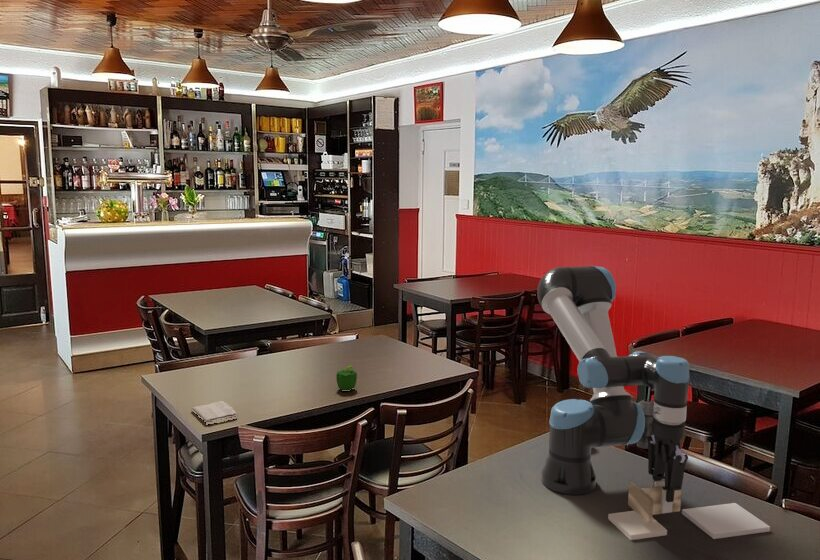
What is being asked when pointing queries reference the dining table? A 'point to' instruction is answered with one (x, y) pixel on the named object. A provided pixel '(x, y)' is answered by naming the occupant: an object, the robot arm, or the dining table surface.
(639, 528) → the tile
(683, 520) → the dining table surface
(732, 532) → the board
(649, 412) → the beverage cup
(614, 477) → the dining table surface
